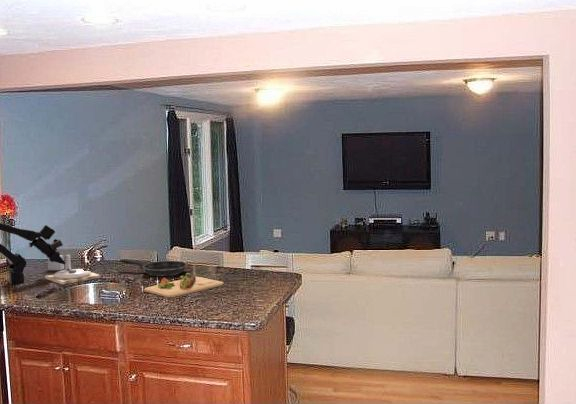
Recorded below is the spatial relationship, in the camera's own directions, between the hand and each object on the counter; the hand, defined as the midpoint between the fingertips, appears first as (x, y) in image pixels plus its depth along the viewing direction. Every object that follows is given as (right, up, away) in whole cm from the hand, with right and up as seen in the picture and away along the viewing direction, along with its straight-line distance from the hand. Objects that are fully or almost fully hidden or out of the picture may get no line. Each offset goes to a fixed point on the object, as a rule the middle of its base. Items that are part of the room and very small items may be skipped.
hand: (64, 263), depth 336 cm
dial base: (+7, -8, -5) cm, 11 cm away
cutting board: (+74, -10, -33) cm, 82 cm away
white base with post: (+6, -6, -6) cm, 10 cm away
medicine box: (-12, -6, +19) cm, 24 cm away
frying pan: (+50, -6, +5) cm, 51 cm away
